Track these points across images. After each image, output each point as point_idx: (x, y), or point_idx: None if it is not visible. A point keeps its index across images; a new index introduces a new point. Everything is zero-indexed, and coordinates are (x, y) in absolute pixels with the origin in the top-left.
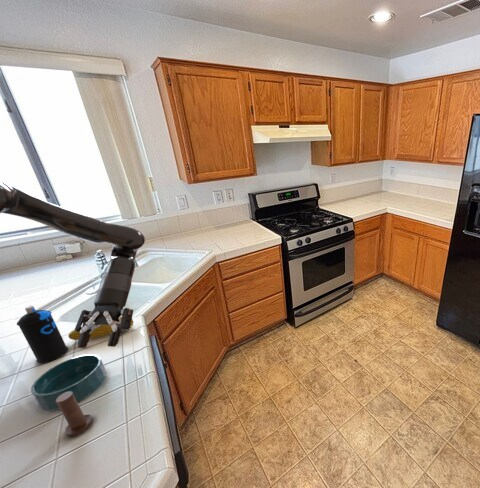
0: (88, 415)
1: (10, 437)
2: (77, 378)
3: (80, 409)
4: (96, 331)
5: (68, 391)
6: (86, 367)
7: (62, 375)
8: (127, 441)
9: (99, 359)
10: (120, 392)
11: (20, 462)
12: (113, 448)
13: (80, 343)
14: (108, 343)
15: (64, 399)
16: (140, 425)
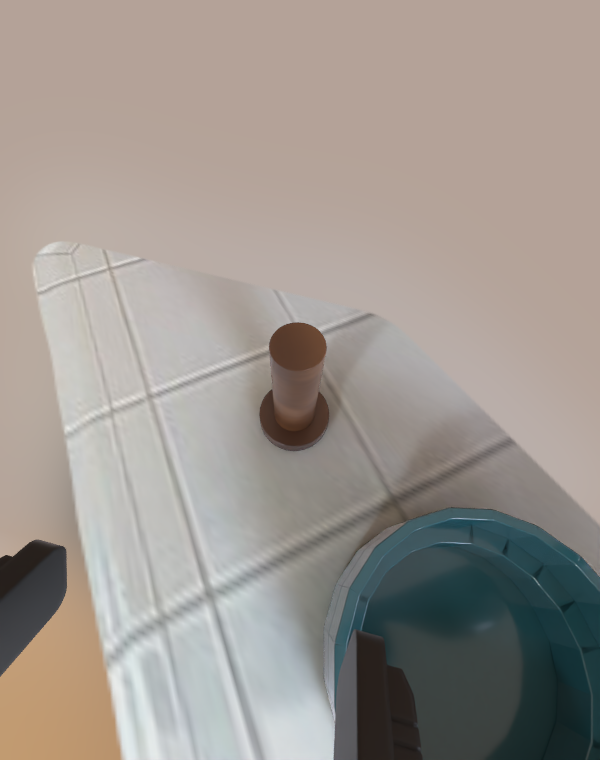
0: (278, 439)
1: (506, 445)
2: (489, 737)
3: (273, 396)
4: None
5: (397, 526)
6: None
7: (577, 757)
8: (133, 335)
9: None
10: (216, 549)
11: (395, 354)
12: (165, 326)
13: (358, 661)
14: (39, 556)
15: (286, 330)
16: (106, 372)
